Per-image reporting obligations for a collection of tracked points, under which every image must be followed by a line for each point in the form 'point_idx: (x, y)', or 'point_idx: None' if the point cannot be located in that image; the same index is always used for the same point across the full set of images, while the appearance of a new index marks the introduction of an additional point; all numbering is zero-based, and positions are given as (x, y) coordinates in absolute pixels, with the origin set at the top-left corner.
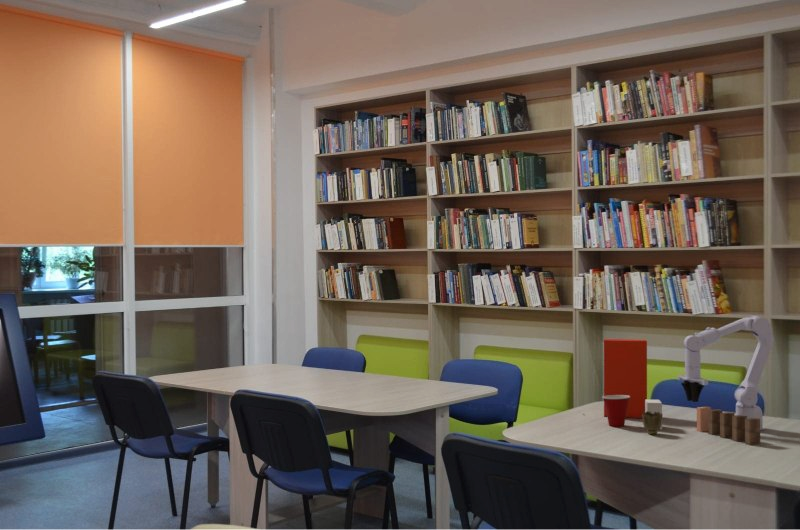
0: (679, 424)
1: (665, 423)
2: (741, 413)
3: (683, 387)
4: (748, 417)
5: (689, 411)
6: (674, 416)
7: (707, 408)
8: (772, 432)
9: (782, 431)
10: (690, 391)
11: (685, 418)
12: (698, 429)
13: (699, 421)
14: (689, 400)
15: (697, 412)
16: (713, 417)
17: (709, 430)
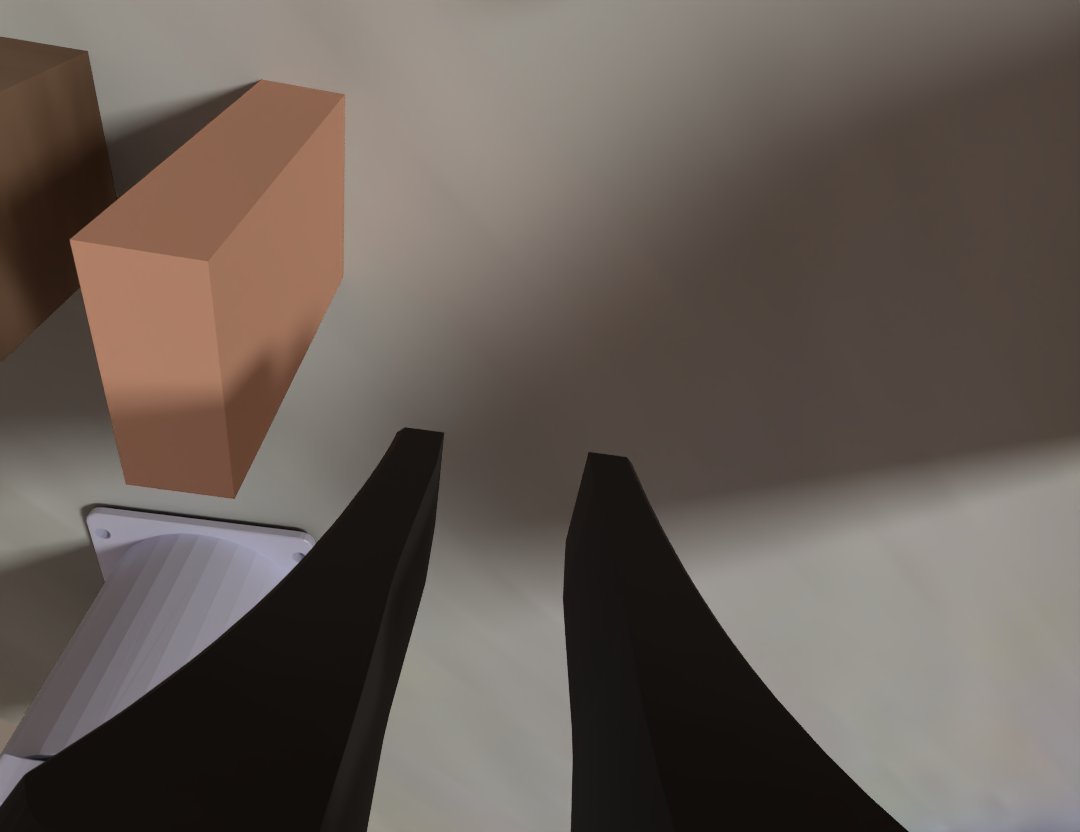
0: (790, 252)
1: (990, 135)
2: (86, 681)
3: (805, 742)
4: (54, 665)
5: (1025, 754)
6: (1064, 546)
7: (120, 406)
8: (28, 633)
9: None
10: (595, 704)
11: (914, 552)
12: (298, 95)
13: (229, 135)
14: (584, 474)
15: (228, 208)
16: None
17: (28, 63)
